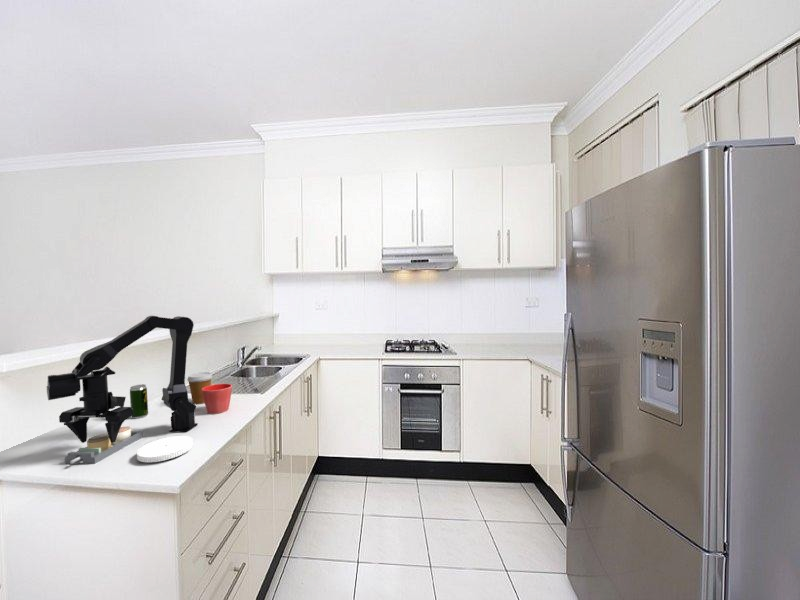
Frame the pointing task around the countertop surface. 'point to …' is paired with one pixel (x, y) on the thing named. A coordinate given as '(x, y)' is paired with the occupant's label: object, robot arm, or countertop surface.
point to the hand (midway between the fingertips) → (98, 442)
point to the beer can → (139, 401)
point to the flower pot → (217, 397)
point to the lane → (91, 459)
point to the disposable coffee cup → (198, 385)
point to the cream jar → (123, 434)
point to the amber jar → (99, 442)
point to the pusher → (95, 450)
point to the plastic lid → (164, 449)
